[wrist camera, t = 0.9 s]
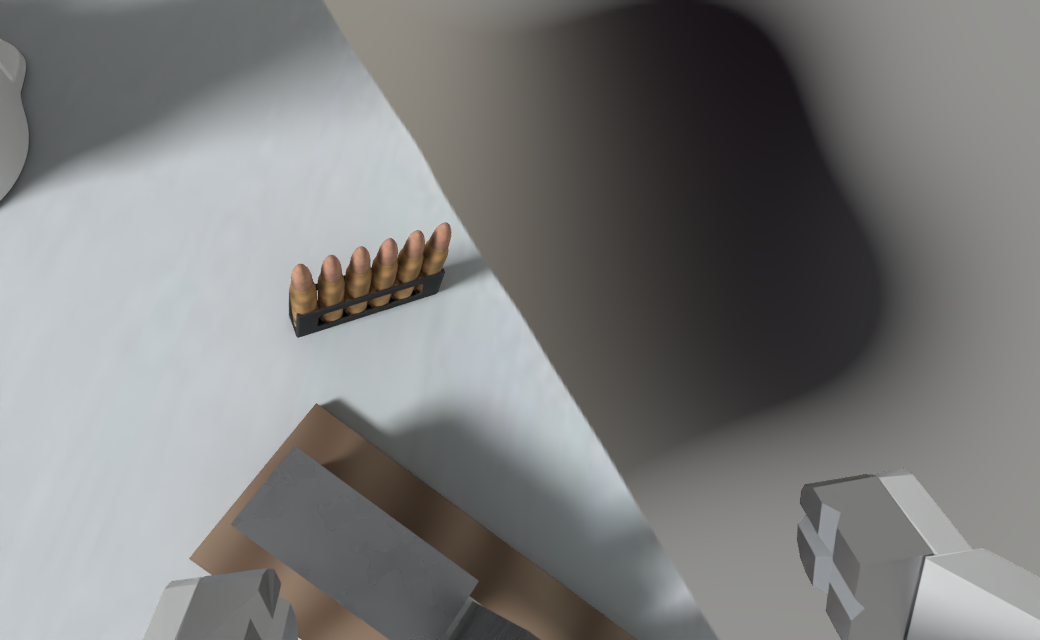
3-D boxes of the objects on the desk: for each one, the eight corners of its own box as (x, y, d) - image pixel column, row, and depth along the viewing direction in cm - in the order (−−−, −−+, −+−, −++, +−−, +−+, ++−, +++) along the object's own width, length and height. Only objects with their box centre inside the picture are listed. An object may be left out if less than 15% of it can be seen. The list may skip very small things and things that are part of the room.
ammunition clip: (429, 270, 55) (455, 206, 44) (438, 293, 55) (466, 233, 43) (288, 314, 51) (278, 255, 40) (297, 337, 51) (288, 286, 40)
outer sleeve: (241, 524, 42) (230, 524, 37) (297, 453, 44) (294, 445, 39) (413, 649, 43) (424, 665, 38) (462, 574, 44) (478, 581, 40)
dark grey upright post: (271, 526, 42) (242, 528, 27) (307, 480, 43) (297, 458, 28) (534, 717, 42) (638, 815, 28) (563, 667, 43) (677, 736, 29)
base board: (193, 557, 46) (176, 561, 41) (316, 406, 50) (315, 393, 45) (575, 832, 47) (605, 870, 42) (663, 662, 51) (700, 677, 46)
